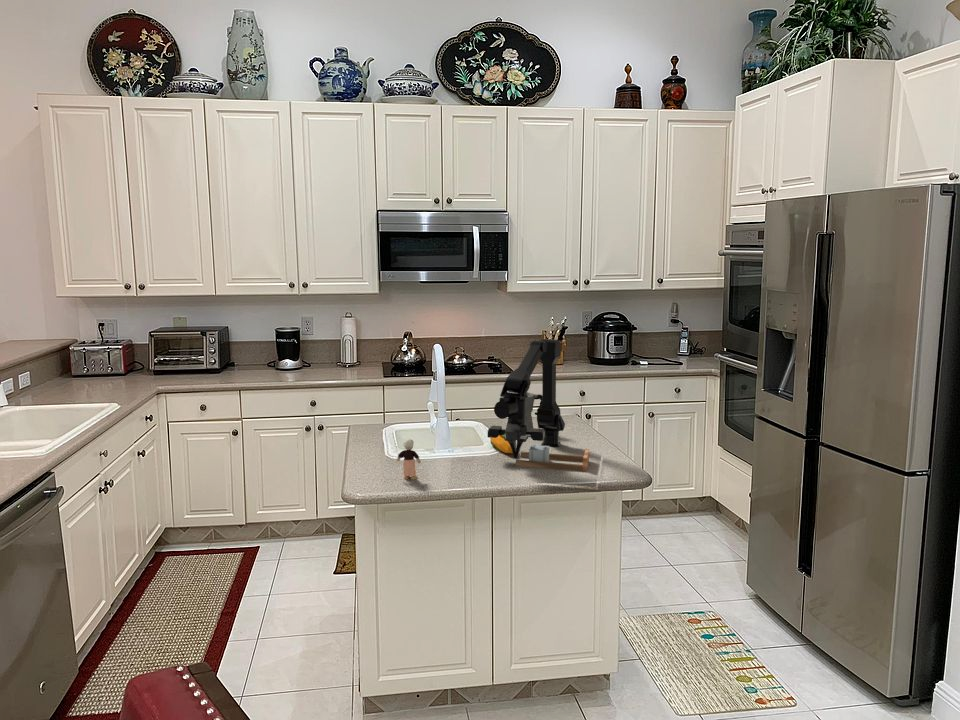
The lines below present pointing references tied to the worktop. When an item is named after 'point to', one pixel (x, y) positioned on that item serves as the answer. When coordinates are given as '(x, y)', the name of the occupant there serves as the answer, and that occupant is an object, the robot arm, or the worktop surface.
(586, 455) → the bay
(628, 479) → the worktop surface
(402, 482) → the worktop surface
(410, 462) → the grandmother figurine
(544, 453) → the block
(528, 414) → the coffeepot
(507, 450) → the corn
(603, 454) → the worktop surface
